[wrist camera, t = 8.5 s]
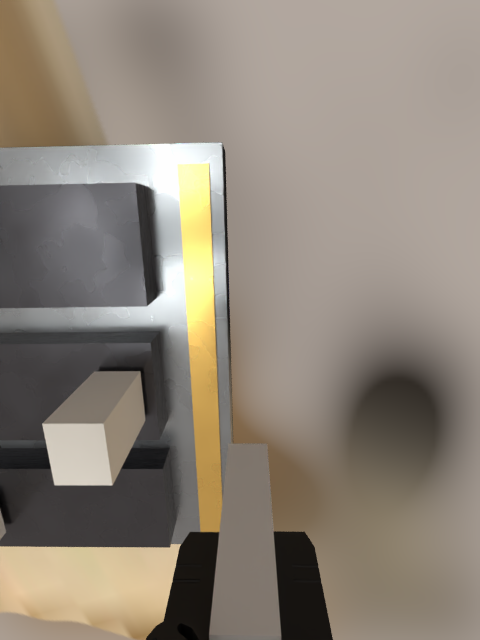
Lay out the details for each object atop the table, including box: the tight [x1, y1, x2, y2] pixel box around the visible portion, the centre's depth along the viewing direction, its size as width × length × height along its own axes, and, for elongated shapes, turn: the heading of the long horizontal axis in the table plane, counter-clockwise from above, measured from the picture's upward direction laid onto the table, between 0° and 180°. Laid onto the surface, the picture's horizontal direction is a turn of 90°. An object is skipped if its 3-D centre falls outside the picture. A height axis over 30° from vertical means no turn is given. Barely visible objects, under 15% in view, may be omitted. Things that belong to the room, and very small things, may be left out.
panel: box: [0, 142, 233, 547], centre depth 22 cm, size 26×22×4 cm
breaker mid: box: [42, 371, 145, 485], centre depth 17 cm, size 3×2×5 cm
